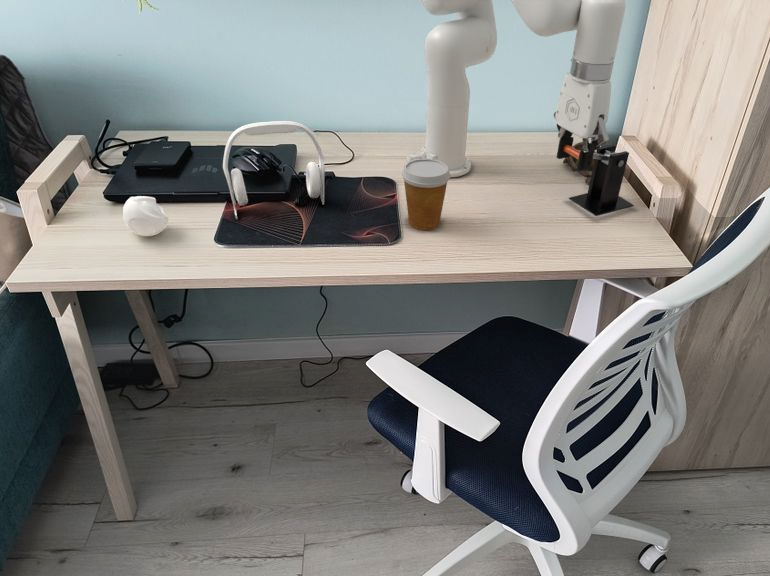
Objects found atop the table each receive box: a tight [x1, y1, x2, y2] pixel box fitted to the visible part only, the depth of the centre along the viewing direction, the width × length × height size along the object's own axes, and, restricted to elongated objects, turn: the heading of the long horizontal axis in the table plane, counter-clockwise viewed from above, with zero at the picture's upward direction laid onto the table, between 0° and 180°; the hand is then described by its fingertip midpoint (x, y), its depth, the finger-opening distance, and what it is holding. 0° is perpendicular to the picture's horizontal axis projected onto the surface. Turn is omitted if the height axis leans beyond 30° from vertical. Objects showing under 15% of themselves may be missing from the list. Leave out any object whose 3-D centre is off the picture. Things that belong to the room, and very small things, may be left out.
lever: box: [563, 145, 617, 165], centre depth 131 cm, size 13×6×2 cm, turn 120°
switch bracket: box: [568, 143, 635, 217], centre depth 137 cm, size 11×9×13 cm
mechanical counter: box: [562, 141, 596, 186], centre depth 150 cm, size 7×13×10 cm
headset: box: [222, 120, 325, 220], centre depth 128 cm, size 20×7×18 cm, turn 109°
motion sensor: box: [122, 195, 169, 237], centre depth 121 cm, size 8×8×8 cm
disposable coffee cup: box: [401, 159, 451, 231], centre depth 128 cm, size 10×10×12 cm
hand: (573, 162), depth 129 cm, fingers closed on lever, 5 cm apart
